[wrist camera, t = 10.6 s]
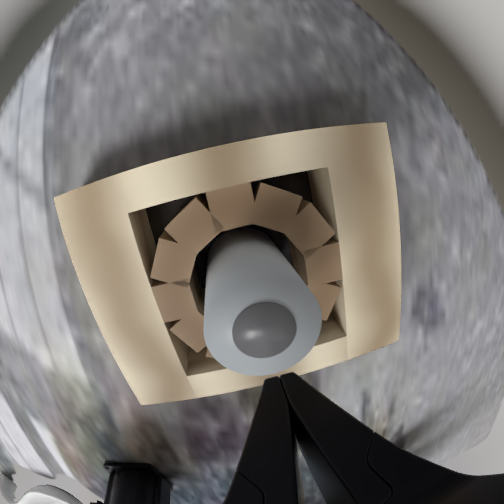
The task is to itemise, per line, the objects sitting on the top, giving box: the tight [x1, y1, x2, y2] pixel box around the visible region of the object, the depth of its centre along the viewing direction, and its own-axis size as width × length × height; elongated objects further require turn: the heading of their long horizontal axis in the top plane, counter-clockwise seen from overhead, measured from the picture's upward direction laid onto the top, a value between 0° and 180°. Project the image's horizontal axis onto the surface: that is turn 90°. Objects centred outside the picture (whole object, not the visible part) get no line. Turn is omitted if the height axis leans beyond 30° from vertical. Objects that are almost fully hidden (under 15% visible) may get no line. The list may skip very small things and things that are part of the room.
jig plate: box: [54, 122, 401, 405], centre depth 16 cm, size 18×14×4 cm
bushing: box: [203, 227, 322, 376], centre depth 14 cm, size 4×4×8 cm
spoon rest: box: [0, 474, 82, 504], centre depth 22 cm, size 24×12×7 cm, turn 105°
